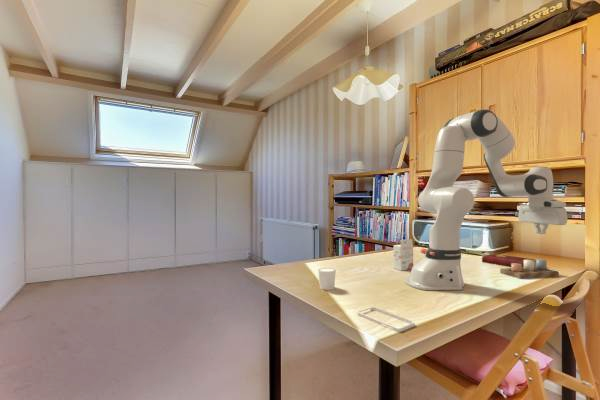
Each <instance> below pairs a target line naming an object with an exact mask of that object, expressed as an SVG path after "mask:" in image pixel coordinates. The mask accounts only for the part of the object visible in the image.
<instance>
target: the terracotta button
mask: <svg viewBox="0 0 600 400" xmlns="http://www.w3.org/2000/svg"><path fill="white" fill-rule="evenodd" d="M510 268H511V271H514V272H522V264H518V263H511V267H510Z"/></svg>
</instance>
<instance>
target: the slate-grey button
mask: <svg viewBox="0 0 600 400" xmlns="http://www.w3.org/2000/svg"><path fill="white" fill-rule="evenodd" d="M547 262H548V261H547V259H543V258H536V270H541V271H547V269H548V267H547V266H548V265H547Z"/></svg>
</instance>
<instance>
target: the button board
mask: <svg viewBox="0 0 600 400" xmlns="http://www.w3.org/2000/svg"><path fill="white" fill-rule="evenodd" d="M499 271H500V274H503V275H505V276H510V277H513V278H516V279H521V280H522V279H535V278H549V277H550V278H551V277H553V278H554V277H560V271H559V270H558V271H557V270H553V269H549V268H547V271H541V270H536V267H534V271H525V270H524V267H522V272H514V271H511V267H508V268H507V267H506V268H500V269H499Z"/></svg>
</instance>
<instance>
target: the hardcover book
mask: <svg viewBox="0 0 600 400" xmlns="http://www.w3.org/2000/svg"><path fill="white" fill-rule="evenodd" d="M536 259H537V258H536ZM536 259H535V258H528V257H520V256H515V255H514V256H513V255H508V254H507V255H506V254H499V253H489V254H483V255H481V263H484V264H491V265H495V264H496V265H495V266H502V267H506V268H507V267H508V268H511V263H518V264H522V267H524V260H533V261H534V267H536Z"/></svg>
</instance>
